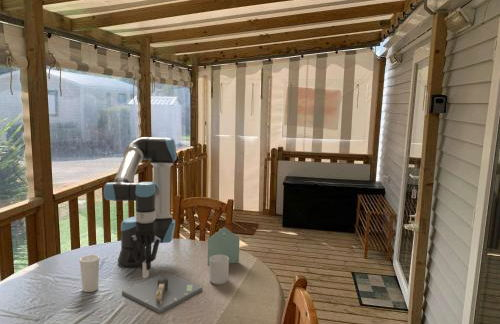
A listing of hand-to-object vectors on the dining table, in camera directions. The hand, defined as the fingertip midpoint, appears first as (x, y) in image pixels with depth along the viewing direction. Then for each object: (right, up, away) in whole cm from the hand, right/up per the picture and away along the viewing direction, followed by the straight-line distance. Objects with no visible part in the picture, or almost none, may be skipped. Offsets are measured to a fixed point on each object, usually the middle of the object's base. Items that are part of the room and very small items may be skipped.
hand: (145, 276), depth 153 cm
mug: (+28, -9, +23) cm, 38 cm away
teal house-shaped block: (+28, -6, +45) cm, 53 cm away
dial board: (+5, -10, +9) cm, 14 cm away
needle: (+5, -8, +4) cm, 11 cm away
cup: (-27, -9, +10) cm, 30 cm away
